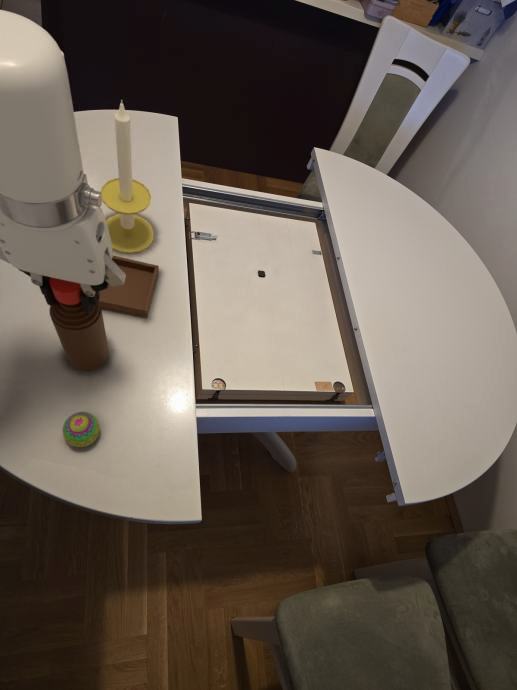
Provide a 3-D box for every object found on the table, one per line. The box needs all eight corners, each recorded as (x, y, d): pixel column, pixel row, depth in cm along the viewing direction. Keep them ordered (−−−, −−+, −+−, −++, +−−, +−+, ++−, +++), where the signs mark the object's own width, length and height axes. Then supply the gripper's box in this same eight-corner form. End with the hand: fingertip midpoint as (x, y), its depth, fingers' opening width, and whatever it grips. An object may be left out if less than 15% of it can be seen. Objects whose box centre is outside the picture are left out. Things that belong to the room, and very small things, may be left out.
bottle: (61, 367, 62) (29, 297, 45) (73, 333, 65) (48, 255, 48) (102, 374, 63) (87, 309, 46) (113, 340, 67) (102, 267, 49)
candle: (112, 208, 79) (99, 68, 56) (160, 224, 80) (167, 94, 57) (92, 243, 74) (69, 106, 51) (144, 260, 75) (144, 133, 52)
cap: (92, 283, 50) (89, 270, 48) (82, 308, 48) (79, 296, 46) (59, 275, 49) (55, 262, 47) (48, 301, 47) (44, 288, 45)
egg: (68, 417, 59) (61, 405, 54) (102, 417, 60) (99, 405, 55) (63, 450, 57) (55, 440, 52) (99, 449, 58) (95, 440, 53)
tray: (69, 302, 68) (67, 294, 66) (87, 257, 72) (85, 248, 70) (146, 317, 70) (146, 311, 68) (158, 273, 75) (158, 265, 73)
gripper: (145, 185, 38) (145, 291, 54) (-43, 134, 35) (15, 262, 51) (125, 243, 34) (131, 338, 50) (-86, 191, 31) (-9, 310, 47)
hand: (72, 299), depth 50 cm, fingers closed on cap, 3 cm apart
